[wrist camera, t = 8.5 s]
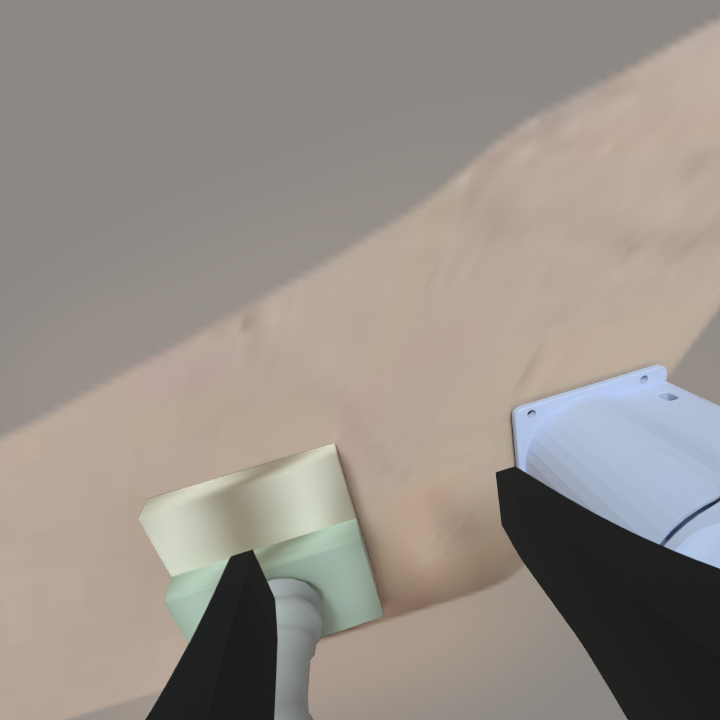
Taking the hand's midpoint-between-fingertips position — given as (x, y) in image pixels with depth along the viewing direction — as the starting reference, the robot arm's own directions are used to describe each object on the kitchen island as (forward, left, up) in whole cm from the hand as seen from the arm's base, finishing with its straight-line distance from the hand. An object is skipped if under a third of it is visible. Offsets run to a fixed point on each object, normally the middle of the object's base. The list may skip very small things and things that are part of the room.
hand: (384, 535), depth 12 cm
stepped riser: (+6, +8, -10) cm, 14 cm away
